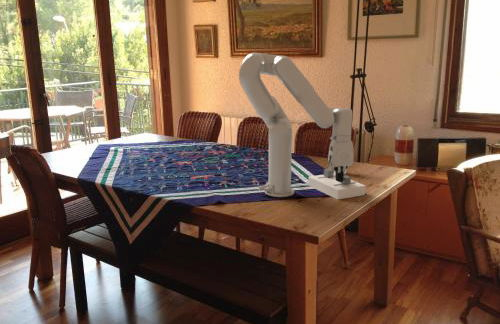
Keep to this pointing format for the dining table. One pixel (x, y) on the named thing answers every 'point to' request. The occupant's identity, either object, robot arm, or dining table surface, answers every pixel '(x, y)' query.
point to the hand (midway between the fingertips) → (339, 181)
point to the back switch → (328, 173)
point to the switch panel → (336, 187)
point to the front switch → (346, 180)
